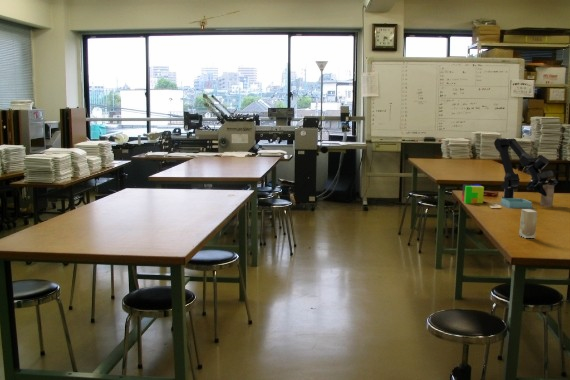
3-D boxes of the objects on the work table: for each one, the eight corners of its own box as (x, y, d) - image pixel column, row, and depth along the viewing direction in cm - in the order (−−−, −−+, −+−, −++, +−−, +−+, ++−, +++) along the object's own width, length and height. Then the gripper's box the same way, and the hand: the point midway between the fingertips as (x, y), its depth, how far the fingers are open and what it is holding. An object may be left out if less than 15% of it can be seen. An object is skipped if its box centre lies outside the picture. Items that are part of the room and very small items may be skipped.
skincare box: (518, 236, 249) (520, 208, 247) (527, 235, 250) (530, 208, 248) (525, 239, 243) (528, 211, 241) (535, 239, 243) (537, 211, 241)
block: (540, 206, 327) (542, 184, 325) (546, 205, 328) (548, 184, 326) (546, 207, 322) (548, 186, 321) (552, 207, 324) (554, 185, 322)
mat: (496, 203, 333) (496, 202, 333) (523, 204, 333) (523, 203, 333) (508, 209, 315) (508, 208, 315) (536, 209, 315) (536, 208, 315)
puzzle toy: (478, 201, 342) (479, 184, 340) (482, 204, 332) (483, 187, 330) (461, 200, 343) (462, 184, 341) (465, 203, 333) (466, 186, 331)
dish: (500, 203, 330) (501, 198, 330) (522, 204, 330) (522, 198, 330) (509, 207, 318) (509, 201, 318) (531, 207, 318) (532, 202, 318)
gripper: (531, 166, 322) (545, 188, 314) (556, 165, 329) (570, 186, 320) (520, 178, 331) (533, 199, 322) (545, 177, 337) (558, 198, 329)
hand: (549, 195), depth 323 cm, fingers closed on block, 4 cm apart
